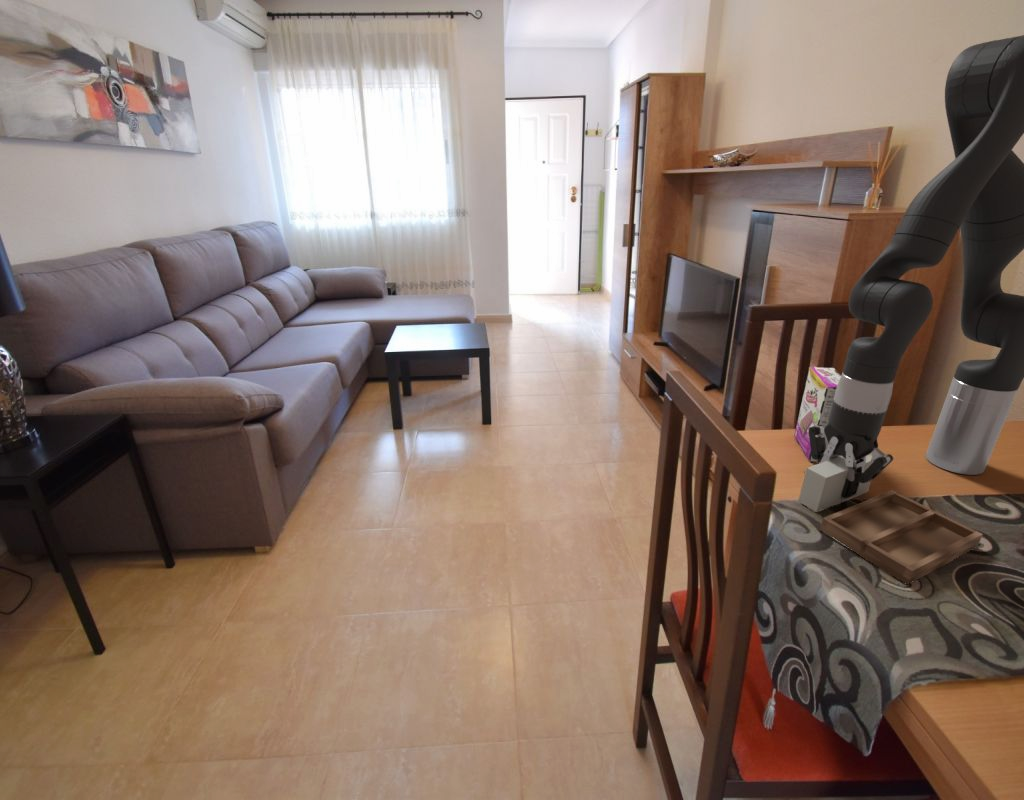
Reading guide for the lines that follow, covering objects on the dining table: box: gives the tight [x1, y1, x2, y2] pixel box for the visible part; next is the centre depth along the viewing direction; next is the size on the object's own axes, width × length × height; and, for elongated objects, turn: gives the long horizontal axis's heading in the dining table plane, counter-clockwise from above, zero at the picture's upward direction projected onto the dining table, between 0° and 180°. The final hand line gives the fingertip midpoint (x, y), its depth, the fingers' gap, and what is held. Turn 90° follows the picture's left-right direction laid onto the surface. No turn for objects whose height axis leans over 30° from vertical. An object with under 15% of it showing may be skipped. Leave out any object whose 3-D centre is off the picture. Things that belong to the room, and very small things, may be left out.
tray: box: [819, 489, 983, 585], centre depth 82 cm, size 18×13×2 cm
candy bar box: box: [793, 366, 842, 463], centre depth 106 cm, size 11×5×16 cm, turn 168°
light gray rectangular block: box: [797, 453, 872, 511], centre depth 92 cm, size 14×4×7 cm, turn 116°
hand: (835, 490), depth 93 cm, fingers closed on light gray rectangular block, 3 cm apart
